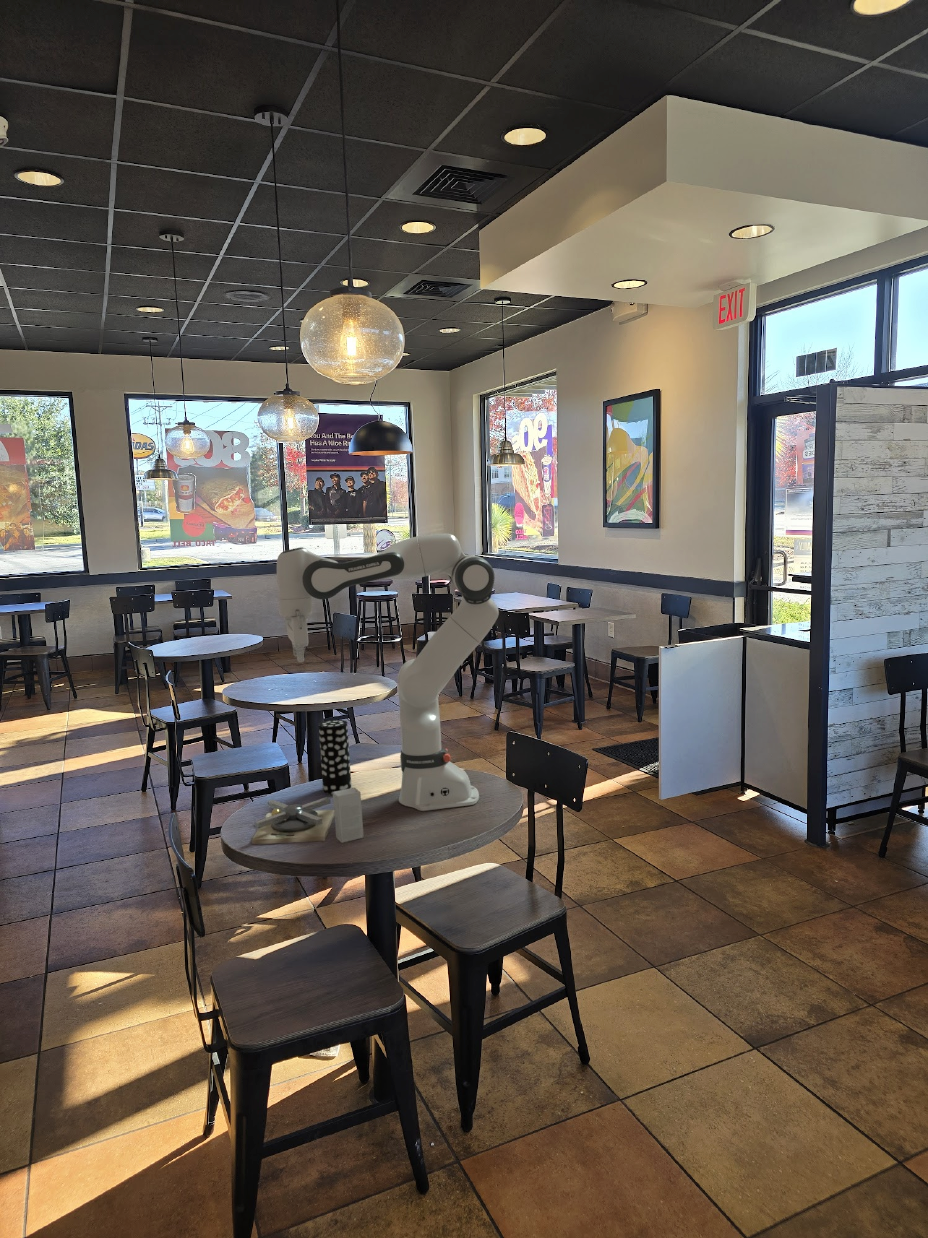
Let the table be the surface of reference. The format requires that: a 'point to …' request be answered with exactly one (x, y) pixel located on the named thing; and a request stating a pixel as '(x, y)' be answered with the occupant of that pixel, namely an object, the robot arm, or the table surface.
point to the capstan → (293, 816)
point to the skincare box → (348, 814)
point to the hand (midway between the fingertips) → (299, 658)
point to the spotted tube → (334, 756)
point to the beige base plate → (310, 834)
